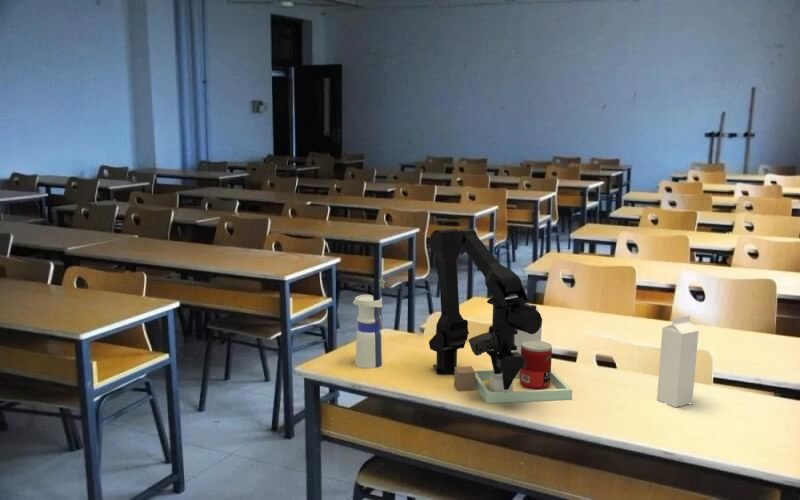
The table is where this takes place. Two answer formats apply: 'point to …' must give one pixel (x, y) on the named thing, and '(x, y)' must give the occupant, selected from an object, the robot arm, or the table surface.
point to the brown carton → (464, 378)
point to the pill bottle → (526, 338)
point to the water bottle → (369, 331)
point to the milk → (677, 362)
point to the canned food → (536, 364)
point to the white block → (497, 383)
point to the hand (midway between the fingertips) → (501, 383)
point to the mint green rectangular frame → (522, 396)
